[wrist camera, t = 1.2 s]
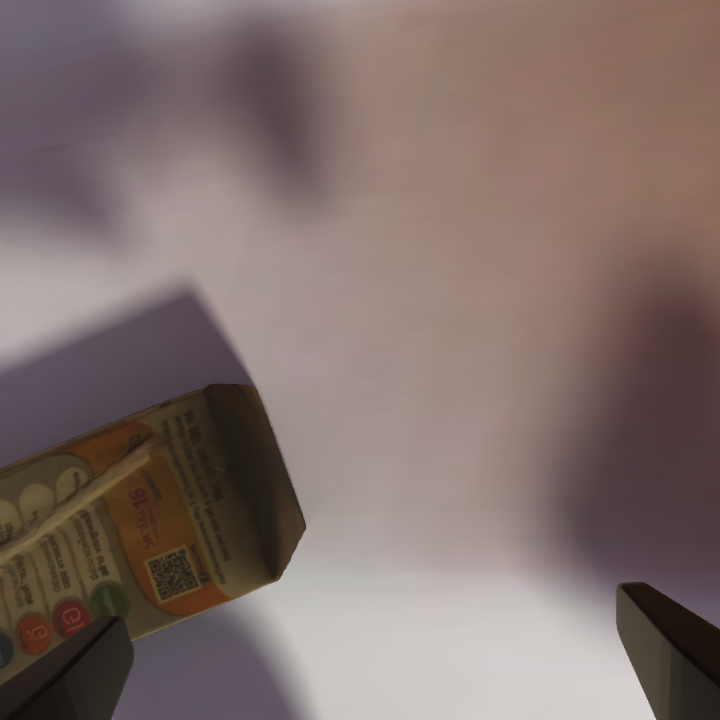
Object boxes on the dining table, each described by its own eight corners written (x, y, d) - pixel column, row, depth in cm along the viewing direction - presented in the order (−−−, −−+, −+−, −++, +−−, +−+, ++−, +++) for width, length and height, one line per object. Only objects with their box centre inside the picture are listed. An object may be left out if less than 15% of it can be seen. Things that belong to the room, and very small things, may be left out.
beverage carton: (-93, 518, 22) (-290, 578, 16) (258, 374, 22) (210, 373, 15) (-40, 669, 22) (-218, 796, 15) (318, 524, 22) (295, 590, 15)
